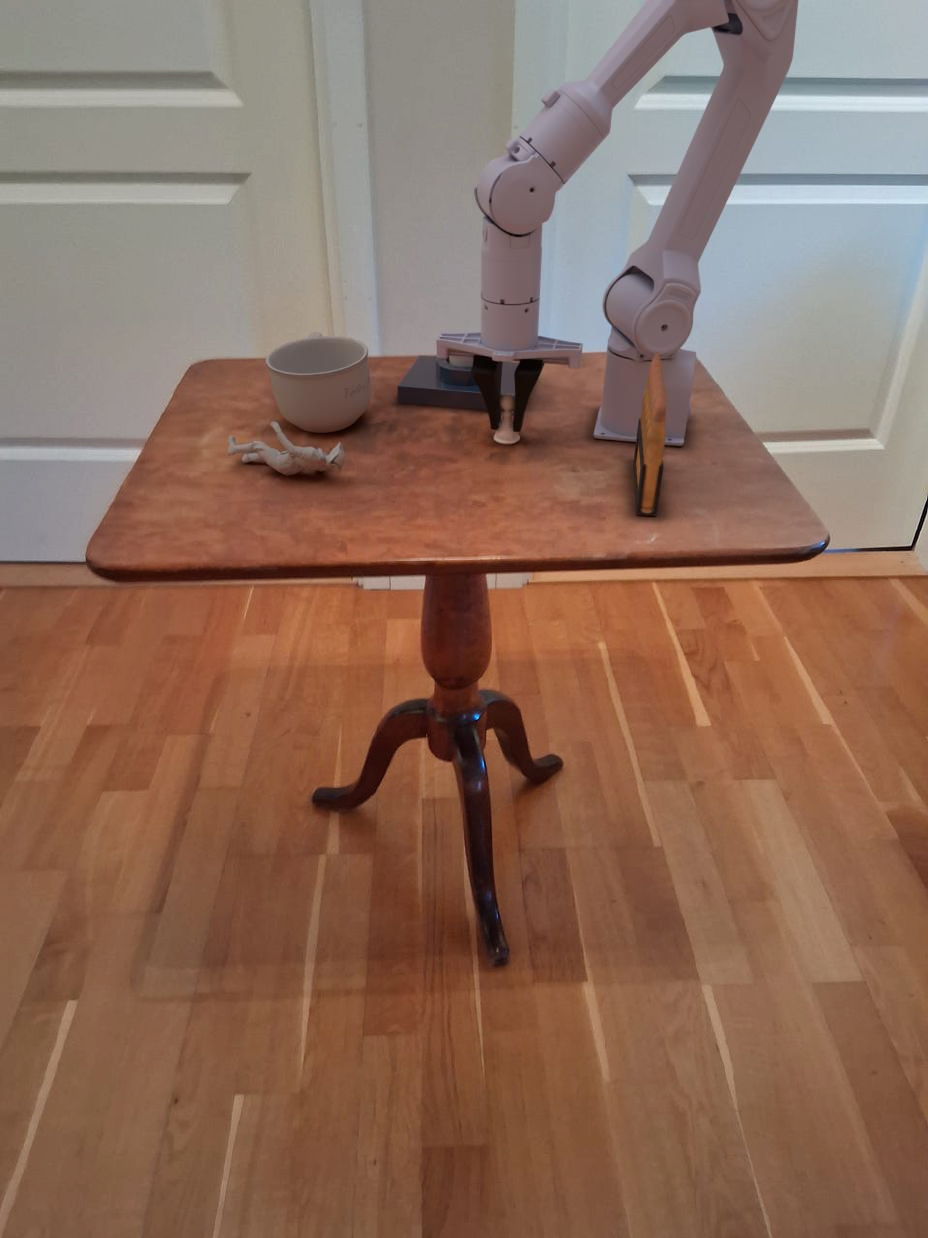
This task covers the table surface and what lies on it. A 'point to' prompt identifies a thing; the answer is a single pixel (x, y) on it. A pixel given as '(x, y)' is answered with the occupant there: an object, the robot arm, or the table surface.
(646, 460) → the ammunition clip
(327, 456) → the soldier figure
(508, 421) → the chess pawn
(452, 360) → the pale grey cylinder
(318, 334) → the teacup
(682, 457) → the table surface
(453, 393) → the dark ring socket base
